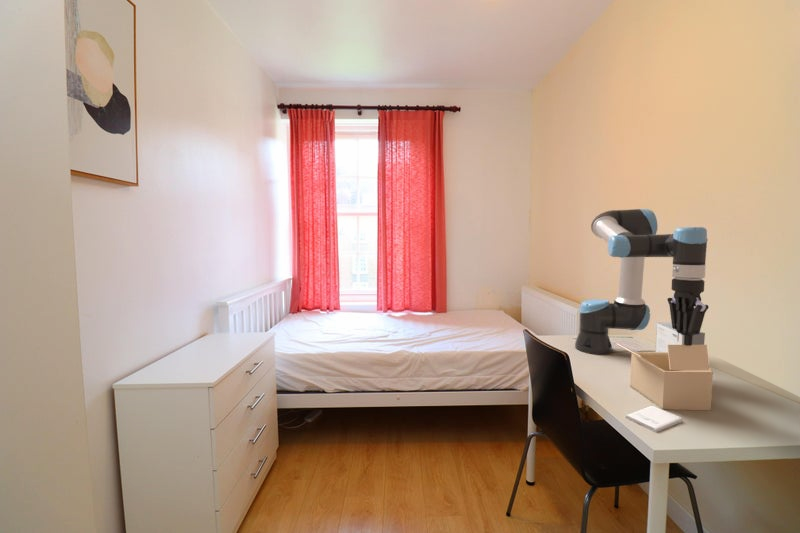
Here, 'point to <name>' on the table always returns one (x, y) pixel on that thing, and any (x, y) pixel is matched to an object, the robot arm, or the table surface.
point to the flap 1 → (637, 355)
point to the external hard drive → (654, 418)
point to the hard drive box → (672, 337)
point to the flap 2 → (688, 357)
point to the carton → (670, 383)
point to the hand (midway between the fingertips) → (684, 354)
